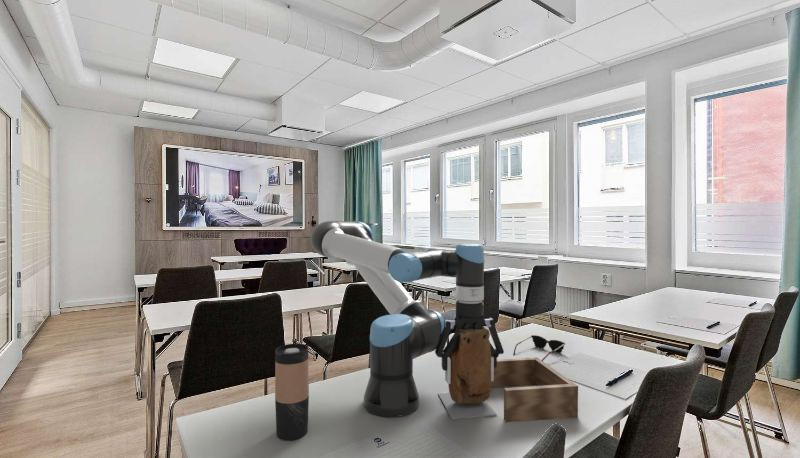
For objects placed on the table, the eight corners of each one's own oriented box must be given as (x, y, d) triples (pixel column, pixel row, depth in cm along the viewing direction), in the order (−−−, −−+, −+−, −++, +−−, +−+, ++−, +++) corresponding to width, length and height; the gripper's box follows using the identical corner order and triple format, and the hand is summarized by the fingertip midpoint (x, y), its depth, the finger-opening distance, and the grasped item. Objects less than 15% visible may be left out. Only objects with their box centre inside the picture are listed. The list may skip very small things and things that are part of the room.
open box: (506, 422, 96) (506, 390, 96) (477, 386, 117) (477, 360, 117) (577, 417, 99) (578, 386, 99) (537, 383, 120) (537, 357, 119)
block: (478, 390, 111) (478, 321, 111) (493, 402, 104) (494, 328, 104) (444, 396, 107) (445, 324, 107) (458, 409, 100) (459, 332, 100)
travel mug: (311, 423, 95) (311, 343, 95) (305, 441, 88) (304, 353, 87) (280, 424, 95) (280, 343, 95) (271, 441, 88) (270, 354, 87)
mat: (451, 419, 98) (451, 417, 98) (438, 394, 111) (438, 393, 111) (496, 415, 99) (496, 414, 99) (478, 392, 113) (478, 390, 113)
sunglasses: (565, 355, 146) (565, 342, 146) (544, 368, 135) (543, 354, 135) (532, 346, 156) (531, 334, 156) (509, 358, 146) (509, 345, 145)
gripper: (430, 305, 100) (429, 388, 100) (517, 302, 103) (516, 383, 103) (424, 299, 107) (423, 377, 107) (505, 296, 110) (504, 372, 111)
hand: (469, 380), depth 105 cm, fingers closed on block, 11 cm apart
